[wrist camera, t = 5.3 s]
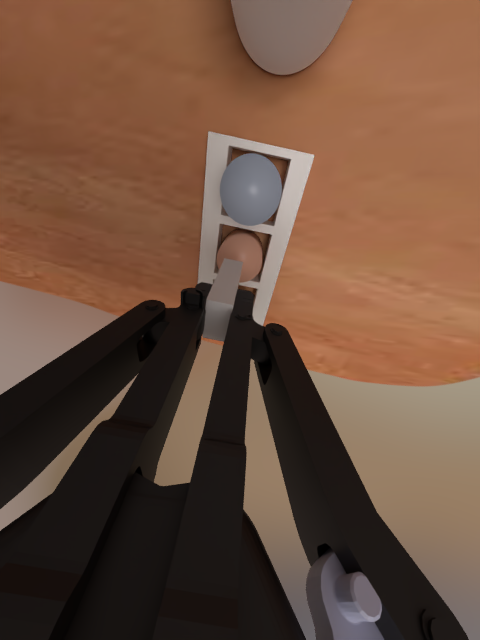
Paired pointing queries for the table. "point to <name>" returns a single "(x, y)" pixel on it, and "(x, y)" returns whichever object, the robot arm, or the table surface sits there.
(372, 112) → the table surface
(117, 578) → the robot arm
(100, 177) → the table surface
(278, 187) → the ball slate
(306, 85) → the table surface
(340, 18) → the beverage can
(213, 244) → the three-ball tray
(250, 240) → the button terracotta
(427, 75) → the table surface
